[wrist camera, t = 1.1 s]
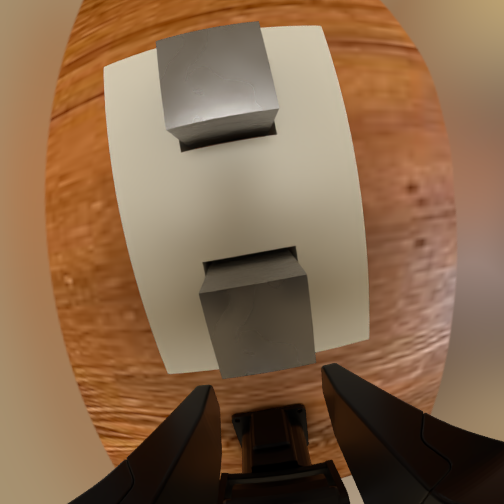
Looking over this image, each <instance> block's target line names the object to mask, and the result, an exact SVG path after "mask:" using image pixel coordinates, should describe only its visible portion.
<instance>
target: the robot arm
mask: <svg viewBox="0 0 504 504" xmlns="http://www.w3.org/2000/svg"><path fill="white" fill-rule="evenodd" d="M321 372H322V389H323V394H324V398H325V401H326V405H327V408H328V412H329V416H330V419H331V423H332V427H333V430H334V434H335V436H336V439H337V442H338V444H339V446H340V449H341V451H342V453H343V456H344V458H345V460H346V462H347V465H348V467H349V469H350V472H351V474H352V476H353V479H354V481H355V483H356V486H357V488H358V490H359V492H360V495H361V497H362V499H363V502H364V504H504V442H503V441H499V440H495V439H492V438H488V437H485V436H482V435H479V434H475V433H472V432H469V431H466V430H463V429H461V428H458V427H455V426H452V425H450V424H448V423H446V422H444V421H441V420H439V419H437V418H435V417H433V416H431V415H429V414H427V413H424V414H423V411H421V410H419V409H417V408H415V407H413V406H412V405H410V404H408V403H406V402H404V401H402V400H400V399H398V398H397V397H395V396H393V395H391V394H389V393H387V392H386V391H384V390H382V389H380V388H378V387H377V386H375V385H373V384H371V383H370V382H368V381H366V380H364V379H363V378H361V377H359V376H357V375H356V374H354V373H352V372H350V371H349V370H347V369H345V368H344V367H342V366H340V365H339V364H337V363H332V364H328V365H324V366H322V369H321ZM299 409H300V410H299ZM237 419H238V420H237ZM232 423H233V426H234V429H235V431H236V434H237V437H238V440H239V442H240V445H241V448H242V473H237V474H229V473H221V478H220V469H221V457H222V445H221V421H220V407H219V403H218V400H217V398H216V395H215V392H214V389H213V387H212V386H211V385H201V386H197V387H196V388H195V389H194V390H193V391H192V392H191V393H190V394H189V395H188V396H187V397H186V399H185V400H184V401H183V402H182V403H181V404H180V405H179V406H178V407H177V408H176V409H175V410H174V411H173V412H172V413H171V414H170V415H169V416H168V417H167V418H166V419H165V420H164V421H163V422H162V423H161V424H160V425H159V426H158V427H157V428H156V429H155V430H154V431H153V432H152V433H151V434H150V435H149V436H148V437H147V438H146V439H145V440H144V441H143V442H142V443H141V444H140V445H139V446H138V447H137V448H136V449H135V450H134V451H133V452H132V453H131V454H130V455H129V456H128V457H127V460H124V461H123V462H122V463H120V464H119V465H118V466H117V467H116V468H115V469H114V470H113V471H112V472H111V473H109V474H108V475H107V476H106V477H105V478H104V479H102V480H101V481H100V482H98V483H97V484H96V485H94V486H93V487H92V488H90V489H89V490H87V491H86V492H84V493H83V494H81V495H80V496H78V497H77V498H75V499H74V500H72V501H71V502H69V503H68V504H350V501H349V496H348V493H347V490H346V488H345V486H344V484H343V482H342V480H341V477H340V475H339V473H338V471H337V469H336V467H335V465H334V463H333V461H332V460H328V461H325V462H324V463H319V464H314V465H312V464H311V460H310V456H309V452H308V448H307V446H308V444H309V442H308V431H307V420H306V410H305V406H304V405H302V404H298V405H293V406H288V407H282V408H277V409H271V410H264V411H257V412H250V413H242V414H235V415H233V416H232Z"/></svg>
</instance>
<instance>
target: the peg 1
mask: <svg viewBox="0 0 504 504" xmlns="http://www.w3.org/2000/svg"><path fill="white" fill-rule="evenodd" d="M156 49H157V60H158V70H159V79H160V88H161V97H162V105H163V112H164V120H165V127H166V130H167V131H168V132H169V133H171V134H172V135H173V136H175V137H176V138H177V139H179V140H180V141H181V142H182V143H184V144H185V145H186V146H188V147H189V148H190V149H195V148H199V147H204V146H209V145H213V144H218V143H224V142H229V141H234V140H240V139H246V138H252V137H258V136H265V135H268V132H269V130H270V128H271V126H272V123H273V121H274V119H275V117H276V115H277V112H278V110H279V104H278V100H277V95H276V91H275V86H274V82H273V77H272V73H271V69H270V65H269V60H268V56H267V52H266V48H265V44H264V40H263V36H262V33H261V29H260V25H259V21H257V22H247V23H239V24H232V25H225V26H219V27H213V28H208V29H203V30H198V31H194V32H189V33H185V34H181V35H177V36H173V37H169V38H166V39H162V40H159V41H156Z"/></svg>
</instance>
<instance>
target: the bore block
mask: <svg viewBox="0 0 504 504" xmlns="http://www.w3.org/2000/svg"><path fill="white" fill-rule="evenodd" d="M260 29H261V33H262V36H263V40H264V44H265V48H266V52H267V56H268V60H269V65H270V69H271V73H272V77H273V82H274V86H275V91H276V95H277V100H278V104H279V110H278V112H277V115H276V117H275V119H274V121H273V123H272V126H271V128H270V130H269V132H268V135H265V136H264V137H257V138H251V139H245V140H239V141H233V142H228V143H223V144H218V145H213V146H208V147H203V148H199V149H190V148H189V147H188V146H186V145H185V144H184V143H182V142H181V141H180V140H179V139H177V138H176V137H175V136H173V135H172V134H171V133H169V132H168V131H167V130H166V127H165V120H164V112H163V105H162V97H161V88H160V79H159V70H158V60H157V49H152V50H149V51H146V52H143V53H140V54H137V55H134V56H131V57H128V58H126V59H123V60H120V61H118V62H115V63H113V64H110V65H108V66H105V67H104V93H105V109H106V122H107V132H108V141H109V150H110V158H111V165H112V171H113V178H114V184H115V190H116V196H117V201H118V206H119V211H120V216H121V221H122V226H123V230H124V235H125V239H126V243H127V247H128V252H129V256H130V259H131V263H132V267H133V271H134V274H135V278H136V282H137V285H138V289H139V292H140V295H141V299H142V302H143V305H144V308H145V311H146V314H147V318H148V321H149V324H150V326H151V329H152V332H153V335H154V338H155V341H156V344H157V346H158V349H159V352H160V354H161V357H162V360H163V362H164V365H165V367H166V370H167V372H168V374H175V373H187V372H198V371H208V370H216V369H219V366H218V363H217V359H216V356H215V353H214V349H213V346H212V342H211V339H210V335H209V331H208V328H207V324H206V320H205V317H204V313H203V309H202V305H201V301H200V297H199V291H200V289H201V286H202V284H203V282H204V279H205V277H206V274H207V272H208V270H209V267H210V265H211V263H212V261H213V260H218V259H224V258H230V257H235V256H241V255H246V254H252V253H257V252H263V251H268V250H274V249H280V248H285V247H287V248H288V250H289V251H290V252H291V254H292V255H293V256H294V258H295V259H296V260H297V262H298V263H299V264H300V266H301V267H302V268H303V270H304V271H305V272H306V274H307V278H308V287H309V295H310V304H311V313H312V323H313V334H314V345H315V353H316V352H320V351H324V350H329V349H333V348H337V347H341V346H345V345H349V344H352V343H356V342H360V341H363V340H367V339H369V281H368V262H367V248H366V236H365V225H364V216H363V207H362V199H361V192H360V185H359V178H358V172H357V166H356V160H355V154H354V148H353V143H352V138H351V133H350V128H349V124H348V119H347V115H346V110H345V106H344V102H343V98H342V94H341V90H340V86H339V82H338V79H337V75H336V71H335V68H334V65H333V61H332V58H331V55H330V51H329V48H328V45H327V42H326V39H325V36H324V33H323V30H322V27H321V26H283V27H267V28H260Z"/></svg>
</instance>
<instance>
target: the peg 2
mask: <svg viewBox="0 0 504 504" xmlns="http://www.w3.org/2000/svg"><path fill="white" fill-rule="evenodd" d="M199 297H200V301H201V305H202V309H203V313H204V317H205V320H206V324H207V328H208V331H209V335H210V339H211V342H212V346H213V349H214V353H215V356H216V359H217V363H218V366H219V370H220V373H221V376H222V379H226V378H234V377H241V376H248V375H255V374H261V373H267V372H273V371H278V370H284V369H289V368H294V367H299V366H304V365H308V364H313V363H316V356H315V345H314V334H313V323H312V313H311V304H310V295H309V287H308V278H307V274H306V272H305V271H304V270H303V268H302V267H301V266H300V264H299V263H298V262H297V260H296V259H295V258H294V256H293V255H292V254H291V252H290V251H289V250H288V248H287V247H285V248H280V249H274V250H268V251H263V252H257V253H252V254H246V255H241V256H235V257H230V258H224V259H218V260H213V261H212V263H211V265H210V267H209V270H208V272H207V274H206V277H205V279H204V282H203V284H202V286H201V289H200V291H199Z"/></svg>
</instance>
